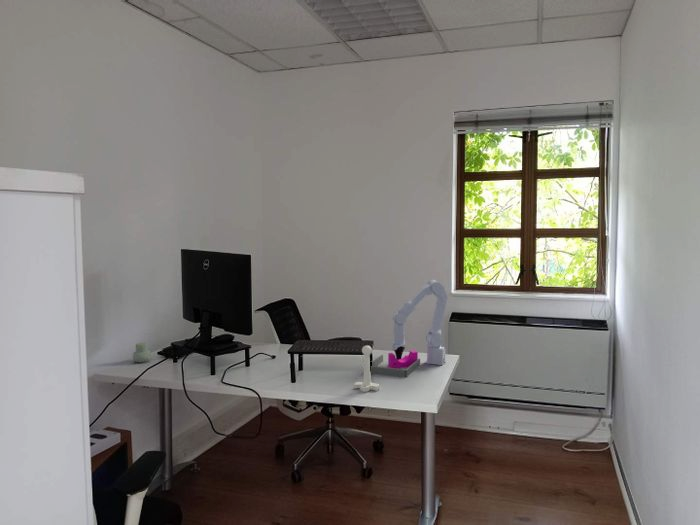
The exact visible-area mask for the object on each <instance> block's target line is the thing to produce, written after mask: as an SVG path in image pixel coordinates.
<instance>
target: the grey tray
mask: <svg viewBox="0 0 700 525" xmlns="http://www.w3.org/2000/svg"><path fill="white" fill-rule="evenodd" d="M371 362H372V366H371V374H375V375H384V376H389V377H390V376H391V377H399V378H401V377H402V378H408V377H409V376H410V375H411V374H412V373H413V372H414V371H415V370H417V369H418V368H419V367H420V366H421V358H418V360H416V361H415V362H414V363H413V364H412V365H410V366H409V367H406V368H405V369H404V368H398V369H394V368H389V367H383V366H378V365H380V364H381V363H383V362H384V355H383V354H381V355H379V356H377V358H375V359H373V360H371Z"/></svg>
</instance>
